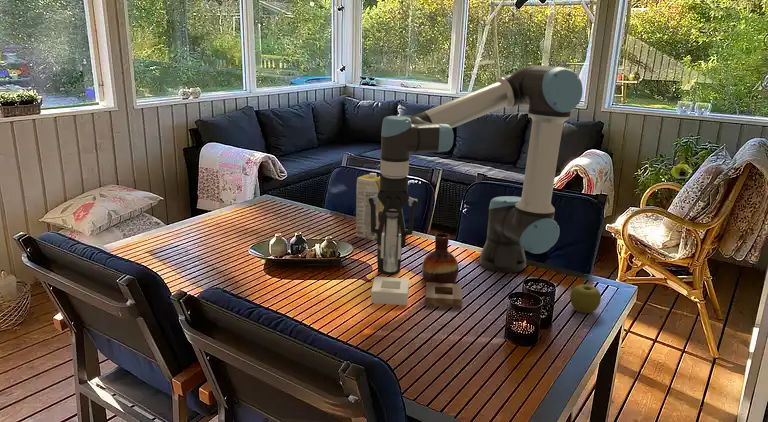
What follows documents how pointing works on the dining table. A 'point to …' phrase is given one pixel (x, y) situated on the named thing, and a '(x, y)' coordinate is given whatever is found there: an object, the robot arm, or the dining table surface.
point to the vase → (440, 263)
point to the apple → (585, 298)
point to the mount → (443, 295)
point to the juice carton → (366, 205)
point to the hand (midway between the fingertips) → (390, 256)
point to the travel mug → (379, 259)
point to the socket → (390, 290)
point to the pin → (391, 241)
